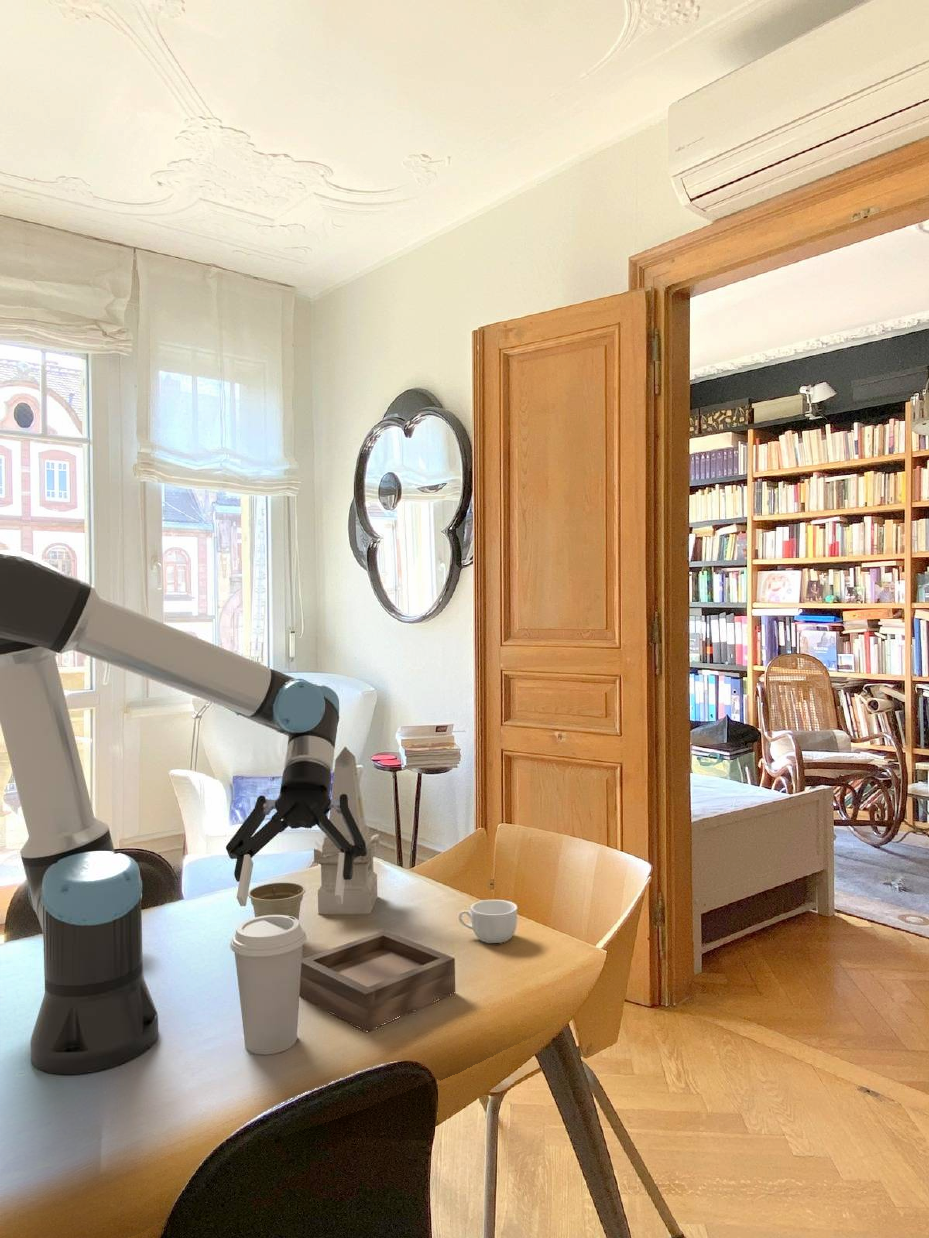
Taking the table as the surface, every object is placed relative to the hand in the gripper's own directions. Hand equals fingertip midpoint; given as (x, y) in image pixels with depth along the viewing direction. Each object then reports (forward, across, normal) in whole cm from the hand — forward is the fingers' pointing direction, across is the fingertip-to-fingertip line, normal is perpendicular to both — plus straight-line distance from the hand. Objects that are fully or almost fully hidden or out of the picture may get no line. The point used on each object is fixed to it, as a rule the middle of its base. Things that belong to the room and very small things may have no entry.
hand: (289, 901), depth 119 cm
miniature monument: (-19, -2, -41) cm, 45 cm away
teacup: (-6, -28, -28) cm, 40 cm away
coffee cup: (+17, +1, -4) cm, 18 cm away
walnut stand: (+8, -11, -13) cm, 19 cm away
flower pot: (-6, +8, -28) cm, 30 cm away
